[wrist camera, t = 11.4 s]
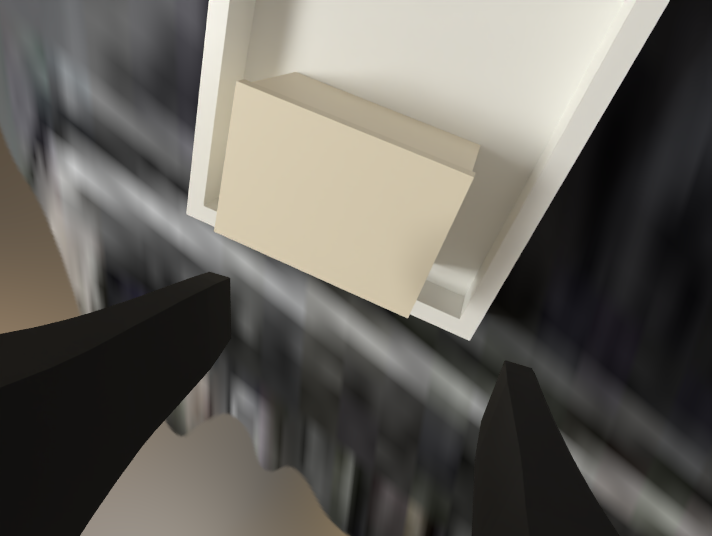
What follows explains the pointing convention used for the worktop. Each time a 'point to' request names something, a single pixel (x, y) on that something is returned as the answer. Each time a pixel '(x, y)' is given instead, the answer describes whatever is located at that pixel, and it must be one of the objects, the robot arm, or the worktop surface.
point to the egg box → (341, 186)
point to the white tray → (440, 103)
